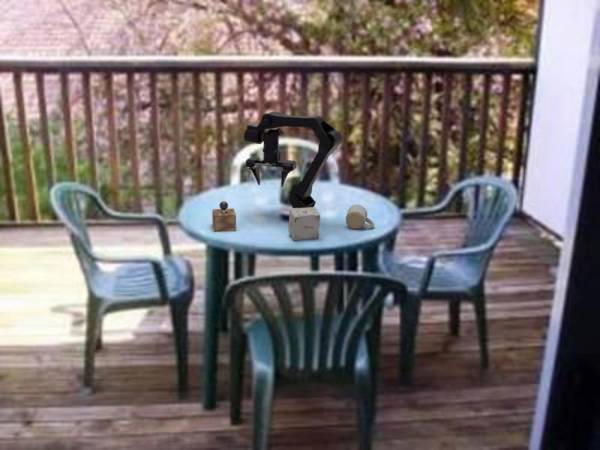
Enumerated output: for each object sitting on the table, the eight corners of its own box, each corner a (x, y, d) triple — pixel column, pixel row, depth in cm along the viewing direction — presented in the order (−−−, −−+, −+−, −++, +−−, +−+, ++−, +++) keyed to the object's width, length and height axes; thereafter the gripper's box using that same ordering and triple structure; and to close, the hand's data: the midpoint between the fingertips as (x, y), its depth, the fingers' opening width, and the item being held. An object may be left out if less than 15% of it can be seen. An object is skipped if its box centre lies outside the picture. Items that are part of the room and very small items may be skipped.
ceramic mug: (344, 229, 279) (345, 209, 277) (346, 222, 287) (348, 203, 284) (373, 231, 278) (374, 212, 275) (374, 224, 285) (376, 205, 283)
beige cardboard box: (293, 242, 265) (294, 214, 261) (287, 234, 272) (288, 207, 269) (320, 240, 267) (321, 212, 264) (313, 232, 275) (314, 205, 272)
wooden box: (233, 223, 283) (233, 208, 281) (236, 230, 275) (235, 215, 273) (212, 224, 281) (212, 209, 279) (214, 231, 274) (213, 215, 272)
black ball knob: (231, 222, 281) (231, 198, 278) (233, 227, 276) (232, 203, 273) (215, 223, 280) (214, 199, 277) (216, 228, 275) (216, 204, 272)
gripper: (300, 143, 286) (299, 182, 291) (254, 139, 290) (254, 178, 295) (292, 149, 276) (292, 190, 281) (244, 145, 280) (244, 185, 285)
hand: (270, 185), depth 286 cm, fingers open, 9 cm apart
